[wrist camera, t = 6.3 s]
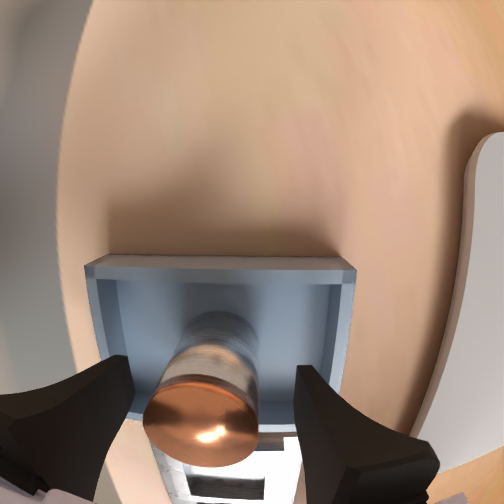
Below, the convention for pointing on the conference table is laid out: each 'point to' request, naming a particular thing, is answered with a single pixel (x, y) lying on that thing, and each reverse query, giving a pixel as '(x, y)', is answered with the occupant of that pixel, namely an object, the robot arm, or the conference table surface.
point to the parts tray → (229, 300)
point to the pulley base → (238, 475)
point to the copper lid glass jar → (208, 394)
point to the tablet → (472, 325)
